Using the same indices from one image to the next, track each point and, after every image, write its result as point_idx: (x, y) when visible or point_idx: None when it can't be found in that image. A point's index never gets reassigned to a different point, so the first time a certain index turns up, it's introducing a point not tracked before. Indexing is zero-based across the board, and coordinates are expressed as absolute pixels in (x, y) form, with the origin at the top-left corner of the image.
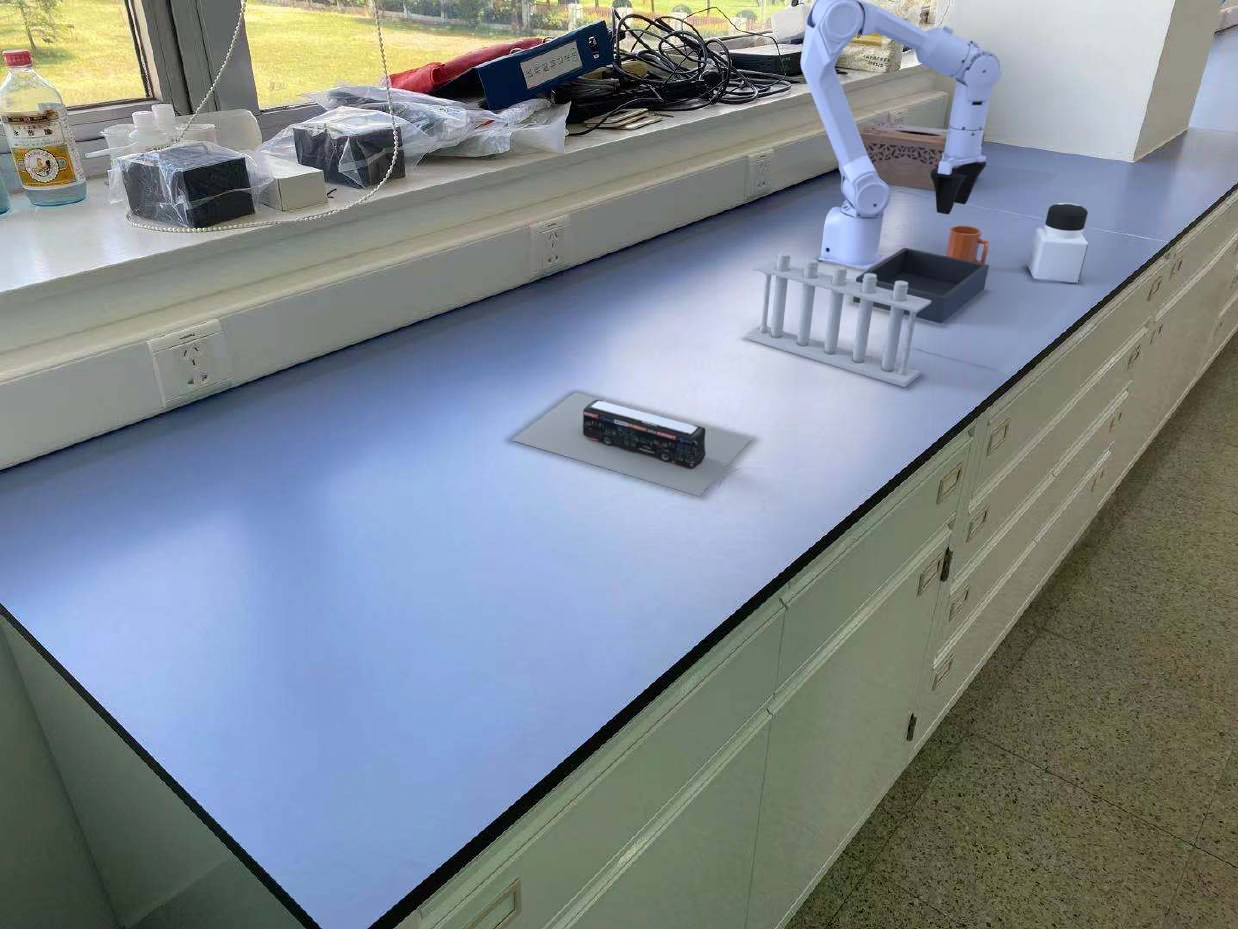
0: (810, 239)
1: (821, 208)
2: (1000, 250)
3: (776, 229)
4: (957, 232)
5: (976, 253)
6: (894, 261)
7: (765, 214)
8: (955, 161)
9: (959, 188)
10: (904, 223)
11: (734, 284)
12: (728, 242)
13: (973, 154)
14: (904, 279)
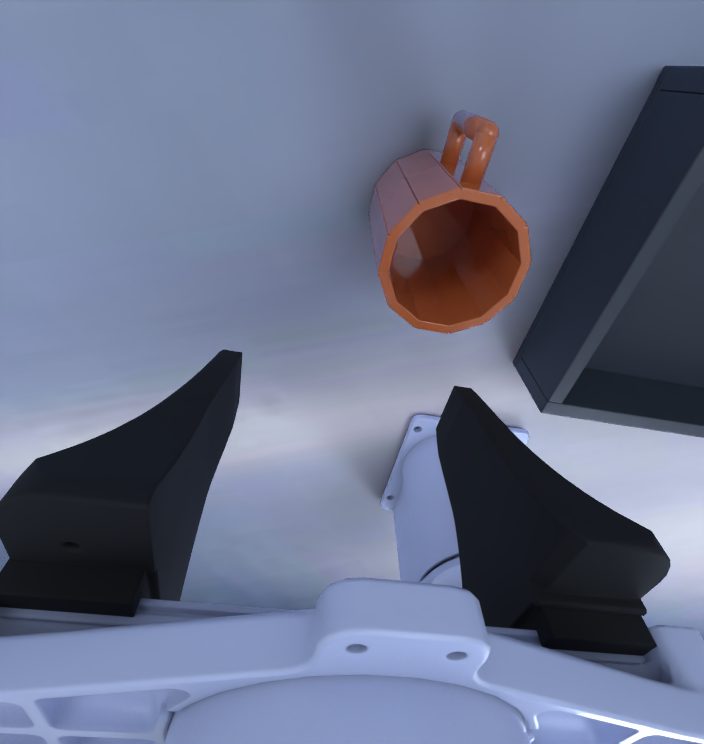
0: (336, 548)
1: None
2: (81, 73)
3: (305, 594)
4: (508, 296)
5: (451, 166)
6: (638, 406)
7: None
8: (693, 736)
9: (219, 441)
10: (56, 431)
11: None
12: None
13: (495, 742)
14: (600, 343)
